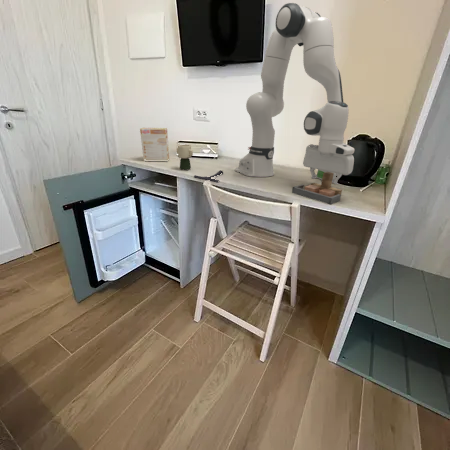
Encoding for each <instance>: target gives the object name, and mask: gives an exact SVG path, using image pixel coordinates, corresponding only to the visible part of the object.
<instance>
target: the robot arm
mask: <svg viewBox="0 0 450 450" xmlns="http://www.w3.org/2000/svg"><path fill="white" fill-rule="evenodd" d="M297 45H298V46H299V47H303V50H302V51H303V52H302V53H303V60H302V61H303V62H302V63H303V67H304V72H305V73H306V74H307V76H308V77H310V78H311V79H312V80H315V81H316V82H318V83H320V84H321V85H322V86H323V88H324V89H325V92H326V99H327V103H326V104H325V105H323V106H322V107H320V108H317V109H315V110H312V111H309V112H307V114H306V115H305V118H304V120H303V130H304V132H305V133H306V134H307V135H309V136H316V137H317V136H319V140H318V144H311V143H310V144H308V145H307V146H306V148H305V154H304V157H303V160H302V164H303V166H304V167H305V168H309V172H310V179H311V180H316V179H317V178H316V176H317V173H315V171H316V170H318V169H319V170H324V171H328V172H333V173H336V176H337V177H336V178H335V179H332V184H333V185H336V184H337V185H338V180H339V179H340V178H341V177H342V176H348V175H350V174H352V172H353V170H354V164H355V163H354V162H355V158H354V155H353V154H354V153H355V148H354V147H352V146H350V145H349V144H347V143H344V140H345V137H344V135H345V131H346V129H347V124H348V120H349V110H350V109H349V105H348V104H347V103H346V102H344V94H343V85H342V76H341V72H340V70H339V67H338V66H337V63H336V60H335V59H336V58H335V49H334V48H335V44H334V32H333V24H332V21H331V19H330V18H328V17H326V16H321V15H320V13H319V12H317V11H316V12H315V11H314V10H313V9H311V8H310V7H307V6H303V5H300V4H298V3H294V2H288V3H287V2H286V3H285V4H283V5H282V6H281V7H280V9H279V10H278V12H277V15H276V17H275V29H274V30H273V31H272V33H271V35H270V38H269V40H268V44H267V47H266V51H265V55H264V59H263V64H262V68H261V72H260V73H261V74H260V77H261V78H260V79H261V81H262V83H261V84H262V91H260V92H256V93H253V94H251V95H250V96H249V97H248V99H247V100H246V103H245V104H246V105H245V107H246V109H245V110H246V111H247V113H248V115H249V117H250V122H251V126H252V139H251V146H247V150H249V151H248V153H247V154H246V155H244V156H243V157H242V158H241V159H240V160H239V163H238V164H239V165H238V167H235V168H234V171H235V172H237V173H239V172H240V174H241V175H244V176H246V177H259V178H260V177H261V178H267V177H272V176H274V175H275V173H274V164H273V162H274V160H273V159H274V158H273V157H274V153H275V146H274V144H275V134H276V130H275V128H274V125H273V118H274V117H276V116H278V115H280V114H281V113H282V112H283V110H284V107H285V101H284V90H285V89H284V86H285V85H284V84H285V79H286V75H287V73H288V67H289V63H290V60H291V59H290V58H291V54H292V52H293V49H294V48H295V46H297ZM332 184H331V185H332Z"/></svg>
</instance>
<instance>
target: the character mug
mask: <svg viewBox="0 0 450 450" xmlns="http://www.w3.org/2000/svg"><path fill="white" fill-rule="evenodd" d="M176 154H177V157H178V158H180V159H179V169H180V168H181V169H180V170H183V169H184V170H187V169H188V170H191V169H192V166H191V160H190V158H191V157H192V156H194V150H193V149H192V145H190V144H178V145H177V147H176ZM190 168H191V169H190Z"/></svg>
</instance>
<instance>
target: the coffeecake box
mask: <svg viewBox="0 0 450 450" xmlns="http://www.w3.org/2000/svg"><path fill="white" fill-rule="evenodd" d="M139 130H140V131H139V132H140V140H141V141H140V142H141V147H142V158H143V160H144V159H146V160H168V159H169V160H170V150H169V149H170V148H169V135H168V127H142V128H139Z"/></svg>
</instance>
